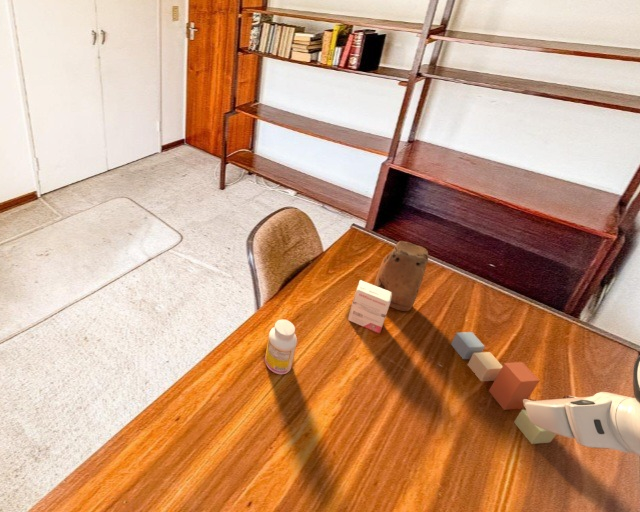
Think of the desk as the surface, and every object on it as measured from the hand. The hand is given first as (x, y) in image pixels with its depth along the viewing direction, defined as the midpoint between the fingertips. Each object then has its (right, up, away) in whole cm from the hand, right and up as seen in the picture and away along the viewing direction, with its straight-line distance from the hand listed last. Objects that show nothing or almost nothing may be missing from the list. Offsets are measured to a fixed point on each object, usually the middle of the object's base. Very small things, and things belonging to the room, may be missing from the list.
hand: (546, 401), depth 83 cm
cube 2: (-2, -3, +16) cm, 16 cm away
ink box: (-25, +4, +29) cm, 39 cm away
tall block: (-1, -6, +10) cm, 11 cm away
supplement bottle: (-53, -1, +16) cm, 55 cm away
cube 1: (0, -9, +3) cm, 9 cm away
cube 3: (-2, 0, +21) cm, 21 cm away
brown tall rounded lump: (-14, +7, +36) cm, 40 cm away
